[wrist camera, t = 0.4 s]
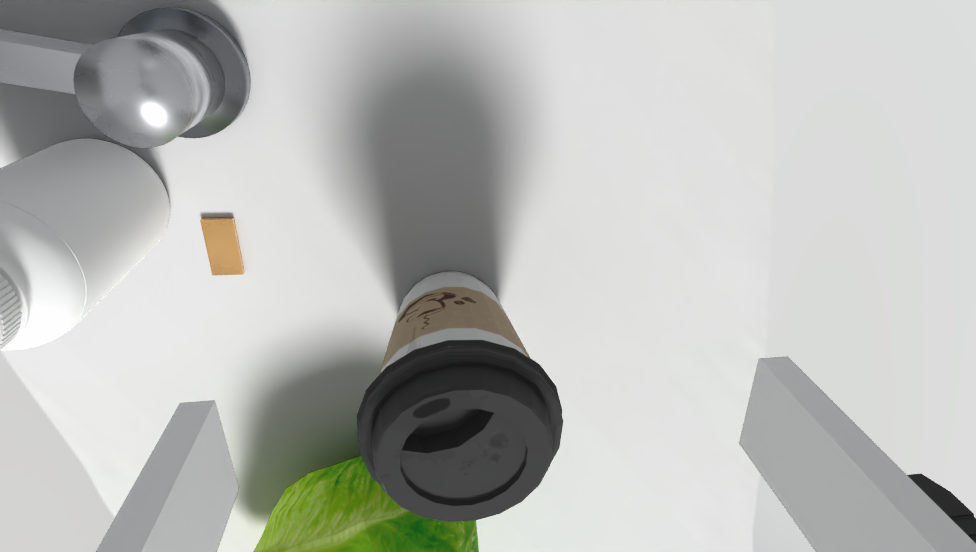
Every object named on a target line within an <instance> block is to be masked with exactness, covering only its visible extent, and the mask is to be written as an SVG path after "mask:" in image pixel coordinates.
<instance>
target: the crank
mask: <svg viewBox="0 0 976 552" xmlns="http://www.w3.org/2000/svg"><path fill="white" fill-rule="evenodd" d="M0 83H6V84H13V85H19V86H25V87H32V88H38V89H44V90H51V91H57V92H64V93H70V94H75V95H76V98H77V101H78V103H79V105H80V107H81V109H82V111H83V112H84V114H85V115H86V117H87V118H88V119H89V121H90V122H91V123H92V124H93V125H94V126H95V127H96V128H97V129H98V130H99V131H101V132H102V133H103V134H105V135H106V136H108V137H109V138H111V139H113V140H115V141H117V142H119V143H121V144H124V145H128V146H132V147H137V148H152V147H157V146H161V145H164V144H166V143H168V142H170V141H171V140H173V139H174V138H176V137H178V136H179V135H181V134H182V133H184V132H185V131H187V130H188V129H190V128H192V127H193V126H195V125H196V124H198V123H199V122H201V121H202V120H204V119H206V118H207V117H209V116H210V115H212V114H213V113H214V112H215V111H216V110H217V109H218V107H219V106H220V104H221V102H222V100H223V98H224V94H225V76H224V72H223V69H222V66H221V64H220V62H219V60H218V58H217V57H216V55H215V54H214V53H213V51H212V50H211V49H210V48H209V47H208V46H207V45H206V44H205V43H204V42H202V41H201V40H200V39H198V38H197V37H195V36H193V35H191V34H189V33H186V32H184V31H180V30H175V29H161V30H155V31H150V32H144V33H139V34H133V35H128V36H122V37H117V38H111V39H106V40H102V41H99V42H97V43H95V44H93V45H90V44H85V43H79V42H73V41H67V40H61V39H55V38H50V37H44V36H38V35H32V34H26V33H20V32H14V31H9V30H3V29H0Z"/></svg>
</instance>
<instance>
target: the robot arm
mask: <svg viewBox="0 0 976 552" xmlns="http://www.w3.org/2000/svg"><path fill="white" fill-rule="evenodd" d="M739 444H740V445H741V447H742V448H743V450H744V451H745V452H746V454H747V455H748V457H749V458H750V460H751V461H752V462H753V464H754V465H755V467H756V468H757V469H758V471H759V472H760V474H761V475H762V476H763V478H764V479H765V481H766V482H767V483H768V485H769V486H770V488H771V489H772V491H773V492H774V493H775V495H776V496H777V498H778V499H779V500H780V502H781V503H782V505H783V506H784V508H785V509H786V510H787V512H788V513H789V515H790V516H791V517H792V519H793V520H794V522H795V523H796V525H797V526H798V527H799V529H800V530H801V531H802V533H803V534H804V536H805V537H806V538H807V540H808V541H809V543H810V544H811V546H812V547H813V549H814V550H815V551H816V552H976V518H975V517H974V514H973V513H972V512H971V511H970V510H969V509H968V508H967V507H966V506H965V505H964V504H963V503H961V502H960V501H959V500H958V499H957V498H956V497H955V496H954V495H953V494H952V493H951V492H950V491H948V490H946V489H945V488H943V487H942V486H940V485H938V484H936V483H935V482H934V481H932V480H930V479H929V478H927V477H925V476H924V475H922V474H913V475H906V474H905V473H904V472H903V471H902V470H901V469H900V468H899V467H898V466H897V465H896V464H895V463H894V462H893V461H892V460H891V459H890V458H889V457H888V456H887V455H886V454H885V453H884V452H883V451H882V450H881V449H880V448H879V447H878V446H877V445H876V444H875V443H874V442H873V441H872V440H871V439H870V438H869V437H868V436H867V435H866V434H865V433H864V432H863V431H862V430H861V429H860V428H859V427H858V426H857V425H856V424H855V423H854V422H853V421H852V420H851V419H850V418H849V417H848V416H847V415H846V414H845V413H844V412H843V411H842V410H841V409H840V408H839V407H838V406H837V405H836V404H835V403H834V402H833V401H832V400H831V399H830V398H829V397H828V396H827V395H826V394H825V393H824V392H823V391H822V390H821V389H820V388H819V387H818V386H817V385H816V384H815V383H814V382H813V381H812V380H811V379H810V378H809V377H808V376H807V375H806V374H805V373H804V372H803V371H802V370H801V369H800V368H799V367H798V366H797V365H796V364H795V363H794V362H792V360H791V359H790V358H789V357H775V358H761V359H759V360H758V364H757V368H756V373H755V377H754V381H753V386H752V390H751V394H750V398H749V403H748V407H747V411H746V415H745V420H744V424H743V428H742V433H741V437H740V441H739ZM238 490H239V486H238V483H237V479H236V475H235V472H234V468H233V464H232V461H231V457H230V454H229V450H228V446H227V443H226V439H225V435H224V432H223V428H222V424H221V421H220V417H219V414H218V410H217V406H216V403H215V400H213V401H200V402H187V403H180V404H179V406H178V408H177V409H176V411H175V413H174V415H173V416H172V418H171V420H170V422H169V423H168V425H167V427H166V429H165V430H164V432H163V434H162V436H161V438H160V439H159V441H158V443H157V445H156V446H155V448H154V450H153V452H152V453H151V455H150V457H149V459H148V461H147V462H146V464H145V466H144V468H143V469H142V471H141V473H140V475H139V476H138V478H137V480H136V482H135V483H134V485H133V487H132V489H131V491H130V492H129V494H128V496H127V498H126V499H125V501H124V503H123V505H122V506H121V508H120V510H119V512H118V514H117V515H116V517H115V519H114V521H113V522H112V524H111V526H110V528H109V529H108V531H107V533H106V535H105V537H104V538H103V540H102V542H101V544H100V545H99V547H98V549H97V551H96V552H217V550H218V547H219V544H220V541H221V538H222V536H223V533H224V530H225V527H226V524H227V521H228V519H229V516H230V513H231V510H232V507H233V504H234V502H235V499H236V496H237V493H238Z"/></svg>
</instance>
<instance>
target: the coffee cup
mask: <svg viewBox="0 0 976 552" xmlns="http://www.w3.org/2000/svg"><path fill="white" fill-rule="evenodd" d="M562 425H563V419H562V408H561V404H560V400H559V396H558V393H557V389H556V386H555V384H554V383H553V382H552V380H551V379H550V378H549V376H548V375H547V374H546V372H545V371H544V370H543V368H542V367H541V366H540V365H539V364H538V363H536V362H535V361H533V360H532V359H530V357H529V355H528V353H527V351H526V350H525V348H524V346H523V344H522V342H521V341H520V339H519V337H518V335H517V333H516V331H515V330H514V328H513V326H512V324H511V322H510V321H509V319H508V317H507V315H506V313H505V311H504V310H503V308H502V306H501V304H500V302H499V301H498V299H497V297H496V296H495V295H494V293H493V292H492V291H491V289H490V288H489V287H488V286H486V285H485V284H484V283H483V282H481V281H480V280H478V279H477V278H475V277H474V276H472V275H469V274H465V273H462V272H459V271H443V272H440V273H436V274H432V275H429V276H427V277H426V278H424V279H422V280H421V281H419V282H418V283H416V284H415V285H414V287H413V288H412V289H411V290H410V292H409V293H408V294H407V295H406V297H405V298H404V299H403V301H402V304H401V307H400V309H399V312H398V315H397V318H396V322H395V325H394V328H393V331H392V335H391V338H390V341H389V345H388V348H387V351H386V354H385V358H384V361H383V364H382V367H381V371H380V374H379V376H378V377H377V378H376V379H375V381H374V382H373V383H372V384H371V385H370V386H369V388H368V389H367V390H366V392H365V395H364V398H363V401H362V403H361V406H360V409H359V412H358V414H357V427H358V442H359V452H360V455H361V457H362V459H363V461H364V463H365V465H366V467H367V469H368V471H369V473H370V475H371V477H372V478H373V479H374V480H375V481H376V482H377V483H378V484H380V485H381V486H382V488H383V490H384V492H385V493H386V494H387V495H388V496H389V497H391V498H392V499H393V500H394V501H395V502H396V503H397V504H398V505H399V506H400V507H402V508H404V509H406V510H408V511H410V512H412V513H415V514H417V515H419V516H421V517H424V518H429V519H435V520H440V521H446V522H457V521H475V520H478V519H482V518H486V517H489V516H493V515H496V514H500V513H502V512H503V511H505V510H507V509H509V508H511V507H513V506H514V505H516V504H518V503H520V502H522V501H523V500H524V499H525V498H526V497H527V496H528V495H529V494H530V493H531V492H532V491H533V490H534V489H535V488H536V487H538V486H539V484H540V482H541V481H542V479H543V477H544V475H545V473H546V472H547V470H548V468H549V466H550V463H551V462H552V460H553V458H554V456H555V454H556V453H557V451H558V449H559V446H560V439H561V432H562Z"/></svg>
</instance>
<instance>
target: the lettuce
mask: <svg viewBox="0 0 976 552" xmlns="http://www.w3.org/2000/svg"><path fill="white" fill-rule="evenodd" d="M254 552H479V551H478V538H477V527H476V520H475V521H457V522H446V521H440V520H435V519H429V518H424V517H421V516H419V515H417V514H415V513H412V512H410V511H408V510H406V509H404V508H402V507H400V506H399V505H398V504H397V503H396V502H395V501H394V500H393V499H392V498H391V497H389V496H388V495H387V494H386V493H385V492H384V490H383V488H382V486H381V485H380V484H378V483H377V482H376V481H375V480H374V479H373V478H372V477H371V475H370V473H369V471H368V469H367V467H366V465H365V463H364V461H363V459H362V457H361V456H358V457H355V458H353V459H350V460H347V461H344V462H342V463H339V464H336V465H333V466H329V467H326V468H323V469H320V470H316V471H313V472H310V473H308V474H307V475H305V476H304V477H302V478H301V479H299V480H298V481H296V482H295V483H294V484H292V485H291V486H289V487H288V488H286V490H285V492H284V493H283V495H282V496H281V498H280V500H279V501H278V503H277V504H276V506H275V507H274V509H273V511H272V513H271V515H270V518H269V520H268V523H267V525H266V528H265V530H264V532H263V535H262V537H261V539H260V541H259V542H258V544H257V546H256V548H255V550H254Z"/></svg>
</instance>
